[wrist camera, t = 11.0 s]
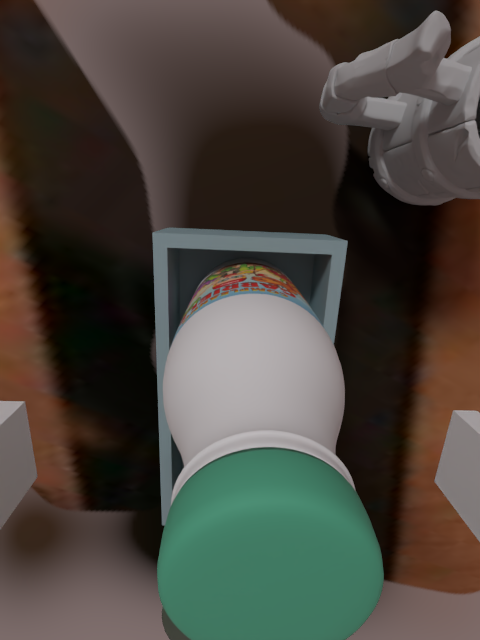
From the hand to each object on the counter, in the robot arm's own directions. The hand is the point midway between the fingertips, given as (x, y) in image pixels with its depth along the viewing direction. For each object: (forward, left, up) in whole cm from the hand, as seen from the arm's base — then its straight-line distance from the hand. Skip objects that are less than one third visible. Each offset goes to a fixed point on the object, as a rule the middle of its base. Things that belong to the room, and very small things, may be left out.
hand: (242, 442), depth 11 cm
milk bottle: (0, 0, -16) cm, 16 cm away
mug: (+9, +12, -16) cm, 22 cm away
